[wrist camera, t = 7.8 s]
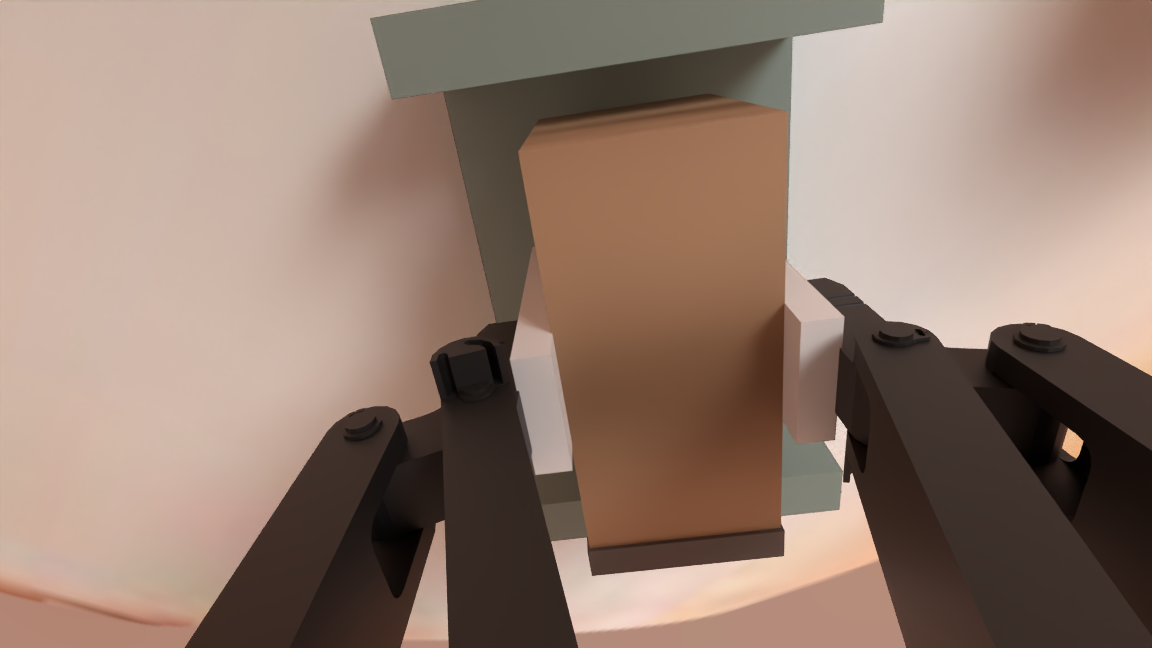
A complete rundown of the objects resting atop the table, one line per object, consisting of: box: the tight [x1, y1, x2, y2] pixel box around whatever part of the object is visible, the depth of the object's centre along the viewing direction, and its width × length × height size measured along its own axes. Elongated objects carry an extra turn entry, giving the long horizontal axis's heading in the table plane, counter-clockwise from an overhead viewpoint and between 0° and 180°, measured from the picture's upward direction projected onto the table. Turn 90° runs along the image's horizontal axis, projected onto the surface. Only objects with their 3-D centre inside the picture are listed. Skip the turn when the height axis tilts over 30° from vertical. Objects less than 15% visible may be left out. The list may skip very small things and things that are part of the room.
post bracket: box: [370, 0, 884, 541], centre depth 17 cm, size 14×10×6 cm
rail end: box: [518, 93, 788, 576], centre depth 14 cm, size 10×5×6 cm, turn 8°
